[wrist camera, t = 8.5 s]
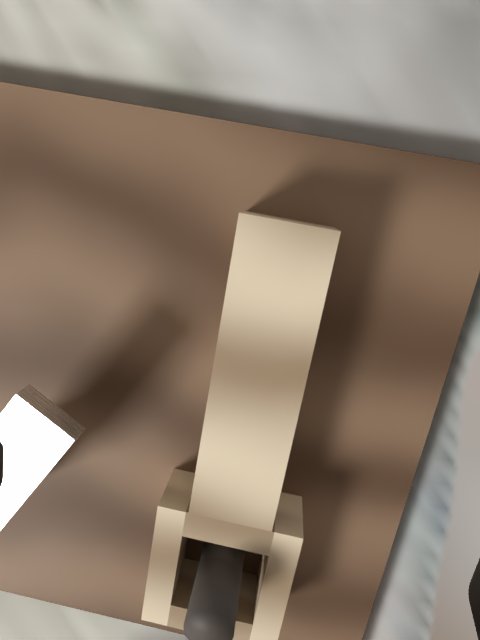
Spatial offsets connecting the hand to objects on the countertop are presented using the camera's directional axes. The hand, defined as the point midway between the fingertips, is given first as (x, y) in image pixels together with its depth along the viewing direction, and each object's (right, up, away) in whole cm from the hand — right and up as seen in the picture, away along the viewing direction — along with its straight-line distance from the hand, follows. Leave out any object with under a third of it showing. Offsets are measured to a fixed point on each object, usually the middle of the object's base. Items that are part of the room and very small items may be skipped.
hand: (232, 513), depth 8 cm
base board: (-5, 0, +12) cm, 13 cm away
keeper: (-8, -1, +11) cm, 14 cm away
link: (+1, -1, +10) cm, 10 cm away
